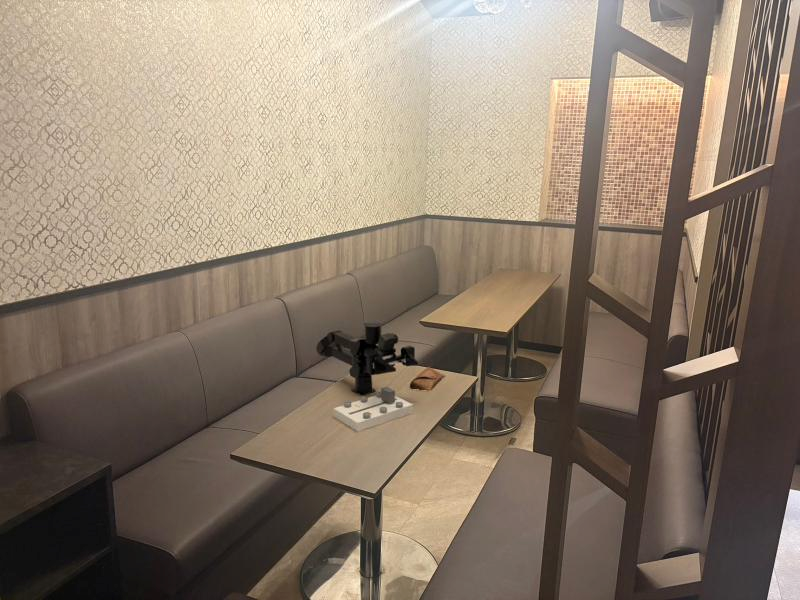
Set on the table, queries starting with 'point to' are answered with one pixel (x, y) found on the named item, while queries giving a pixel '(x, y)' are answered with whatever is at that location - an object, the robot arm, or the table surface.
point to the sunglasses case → (426, 379)
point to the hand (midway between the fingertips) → (406, 366)
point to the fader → (387, 395)
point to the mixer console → (371, 411)
